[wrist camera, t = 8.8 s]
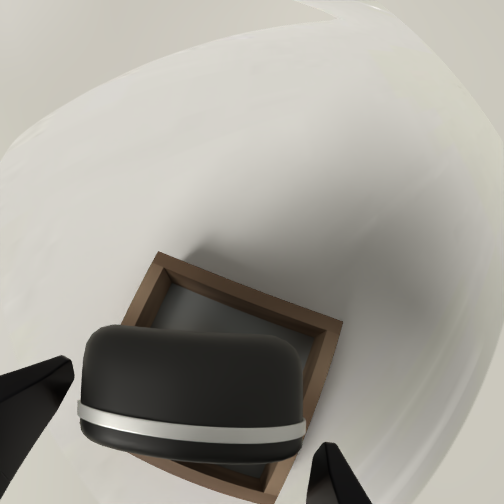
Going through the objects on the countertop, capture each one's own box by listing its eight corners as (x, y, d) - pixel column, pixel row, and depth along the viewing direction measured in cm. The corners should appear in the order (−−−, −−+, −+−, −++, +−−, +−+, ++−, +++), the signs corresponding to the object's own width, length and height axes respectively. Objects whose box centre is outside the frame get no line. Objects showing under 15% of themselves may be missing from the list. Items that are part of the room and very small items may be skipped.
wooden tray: (265, 487, 14) (272, 507, 11) (103, 418, 15) (79, 422, 12) (325, 332, 19) (343, 321, 16) (169, 272, 20) (158, 251, 17)
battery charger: (268, 358, 18) (322, 319, 7) (268, 417, 16) (323, 464, 6) (157, 352, 17) (63, 302, 7) (154, 410, 16) (53, 435, 5)
